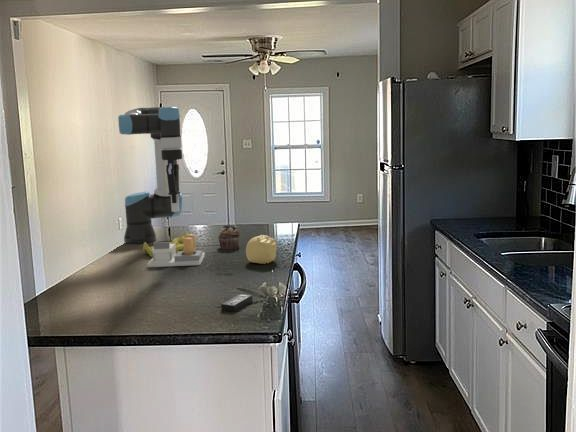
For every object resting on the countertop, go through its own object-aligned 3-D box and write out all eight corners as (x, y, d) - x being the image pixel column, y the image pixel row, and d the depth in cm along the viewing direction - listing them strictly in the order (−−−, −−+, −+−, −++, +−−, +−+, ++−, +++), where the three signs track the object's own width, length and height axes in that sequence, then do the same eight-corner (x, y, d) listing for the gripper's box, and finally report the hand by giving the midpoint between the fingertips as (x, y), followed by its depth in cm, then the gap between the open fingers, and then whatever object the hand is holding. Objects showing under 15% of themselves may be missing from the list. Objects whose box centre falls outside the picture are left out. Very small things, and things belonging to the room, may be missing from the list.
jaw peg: (185, 257, 222) (183, 237, 221) (194, 257, 222) (192, 237, 221) (183, 259, 219) (182, 239, 217) (193, 259, 219) (191, 239, 218)
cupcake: (242, 245, 251) (240, 223, 250) (238, 249, 242) (236, 226, 240) (221, 245, 252) (219, 223, 251) (216, 249, 243) (215, 227, 241)
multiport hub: (220, 312, 158) (220, 304, 157) (240, 301, 168) (240, 293, 167) (234, 313, 156) (233, 305, 156) (253, 302, 166) (252, 295, 165)
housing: (156, 258, 230) (154, 235, 229) (204, 255, 231) (203, 233, 229) (147, 267, 215) (145, 242, 213) (199, 264, 215) (198, 240, 214)
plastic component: (151, 253, 229) (142, 240, 236) (151, 267, 233) (142, 253, 240) (195, 242, 240) (185, 230, 247) (194, 256, 244) (185, 244, 251)
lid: (157, 248, 227) (156, 238, 227) (175, 247, 228) (175, 237, 227) (152, 253, 218) (151, 243, 217) (171, 252, 218) (170, 242, 217)
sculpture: (273, 266, 209) (272, 237, 207) (243, 265, 211) (241, 237, 210) (280, 259, 220) (279, 232, 218) (251, 258, 222) (249, 232, 221)
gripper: (164, 148, 215) (169, 209, 219) (157, 150, 202) (162, 214, 206) (184, 148, 215) (188, 208, 219) (178, 149, 202) (182, 213, 206)
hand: (175, 211), depth 212 cm, fingers closed
